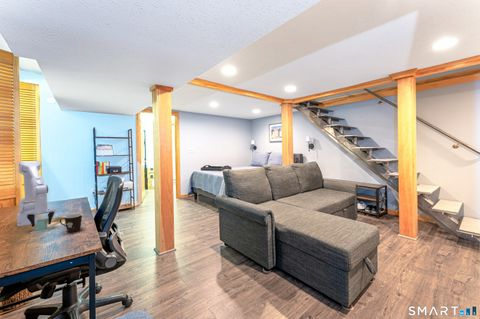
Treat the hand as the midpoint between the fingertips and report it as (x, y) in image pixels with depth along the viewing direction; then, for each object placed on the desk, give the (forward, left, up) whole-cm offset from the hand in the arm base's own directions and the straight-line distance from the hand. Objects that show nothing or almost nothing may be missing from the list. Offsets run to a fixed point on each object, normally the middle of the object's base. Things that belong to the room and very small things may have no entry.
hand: (41, 225), depth 131 cm
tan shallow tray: (+5, +10, -3) cm, 12 cm away
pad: (0, 0, -3) cm, 3 cm away
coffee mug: (+17, -11, -4) cm, 21 cm away
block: (0, 0, -3) cm, 3 cm away
